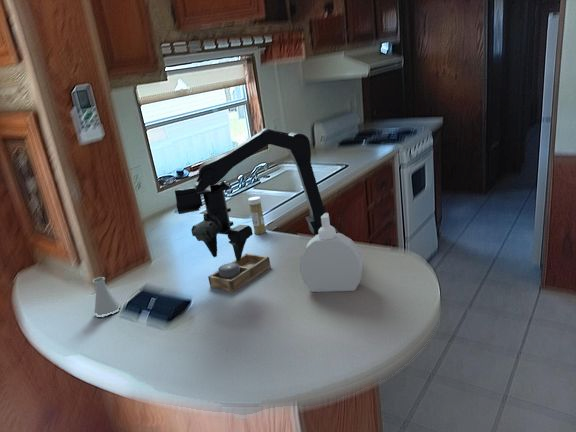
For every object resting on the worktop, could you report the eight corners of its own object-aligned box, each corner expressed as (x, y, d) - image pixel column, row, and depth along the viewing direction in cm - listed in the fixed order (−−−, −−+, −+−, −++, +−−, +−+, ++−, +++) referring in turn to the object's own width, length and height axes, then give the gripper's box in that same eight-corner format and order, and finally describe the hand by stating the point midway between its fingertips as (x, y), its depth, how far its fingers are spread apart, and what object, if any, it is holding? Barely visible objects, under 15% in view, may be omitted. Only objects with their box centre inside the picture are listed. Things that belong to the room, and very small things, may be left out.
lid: (245, 276, 137) (243, 263, 136) (231, 286, 132) (229, 272, 131) (230, 274, 141) (228, 261, 139) (216, 282, 136) (213, 269, 135)
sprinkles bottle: (268, 231, 175) (262, 197, 171) (257, 235, 172) (251, 200, 168) (262, 229, 178) (256, 195, 174) (251, 232, 176) (245, 198, 172)
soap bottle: (365, 281, 125) (357, 210, 119) (363, 291, 120) (355, 217, 114) (306, 283, 129) (296, 215, 123) (302, 292, 124) (292, 221, 118)
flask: (95, 321, 126) (85, 288, 123) (93, 311, 132) (83, 279, 129) (123, 312, 129) (113, 279, 126) (119, 302, 135) (110, 271, 132)
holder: (270, 266, 144) (268, 256, 143) (233, 292, 131) (231, 281, 130) (248, 263, 149) (246, 253, 148) (210, 287, 136) (208, 276, 135)
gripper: (171, 214, 129) (183, 266, 134) (220, 219, 118) (231, 275, 123) (200, 201, 138) (211, 251, 142) (249, 205, 127) (258, 258, 131)
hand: (226, 258), depth 134 cm, fingers open, 9 cm apart
